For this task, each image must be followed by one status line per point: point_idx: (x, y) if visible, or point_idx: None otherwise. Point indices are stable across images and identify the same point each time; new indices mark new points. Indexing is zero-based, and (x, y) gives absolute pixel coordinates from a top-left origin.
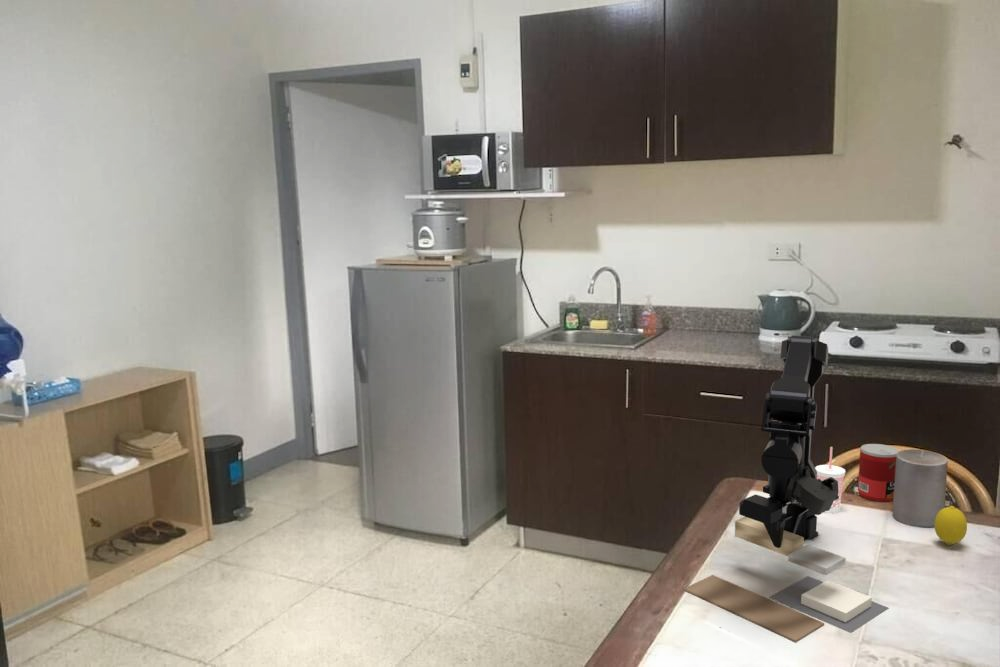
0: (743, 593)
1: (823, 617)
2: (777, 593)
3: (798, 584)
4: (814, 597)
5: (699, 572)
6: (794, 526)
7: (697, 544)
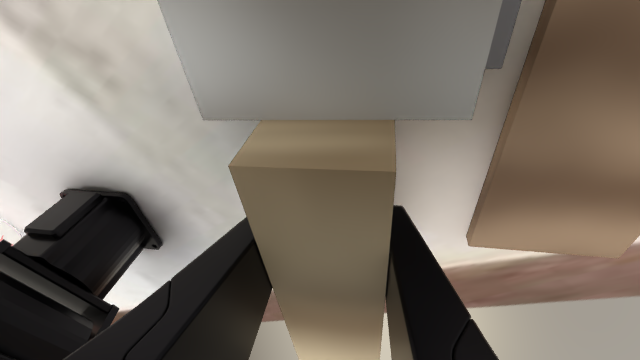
0: (546, 141)
1: None
2: None
3: None
4: None
5: (451, 264)
6: (221, 285)
7: None
